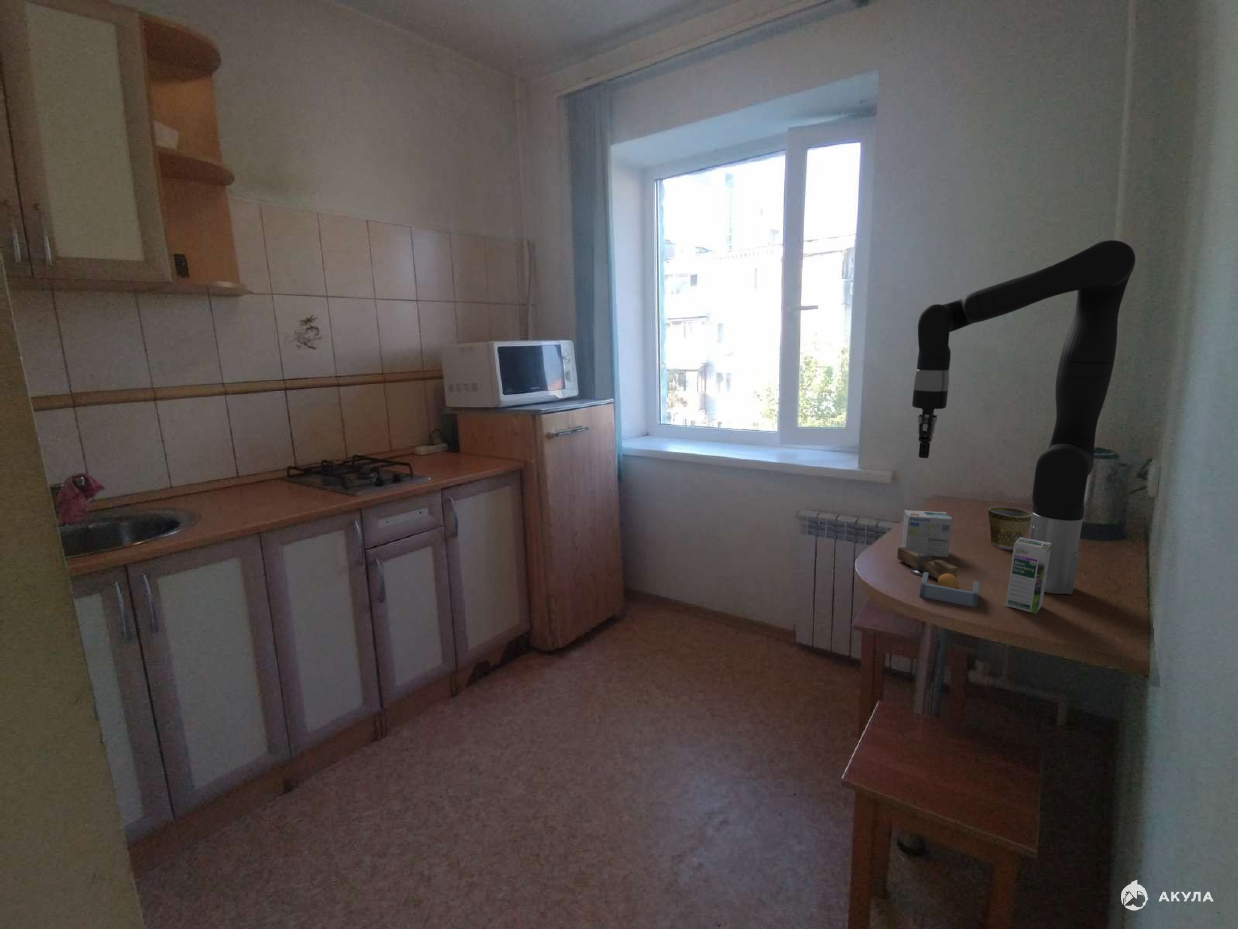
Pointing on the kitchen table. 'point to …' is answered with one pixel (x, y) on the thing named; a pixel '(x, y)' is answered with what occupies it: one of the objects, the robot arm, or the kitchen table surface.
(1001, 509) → the ceramic cup
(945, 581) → the ball
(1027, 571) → the syrup box
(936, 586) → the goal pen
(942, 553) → the light bulb box
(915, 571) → the pivot base
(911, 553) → the tan wooden bar
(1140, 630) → the kitchen table surface
